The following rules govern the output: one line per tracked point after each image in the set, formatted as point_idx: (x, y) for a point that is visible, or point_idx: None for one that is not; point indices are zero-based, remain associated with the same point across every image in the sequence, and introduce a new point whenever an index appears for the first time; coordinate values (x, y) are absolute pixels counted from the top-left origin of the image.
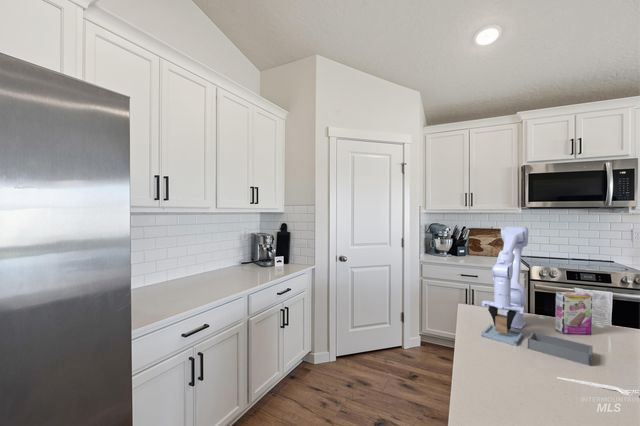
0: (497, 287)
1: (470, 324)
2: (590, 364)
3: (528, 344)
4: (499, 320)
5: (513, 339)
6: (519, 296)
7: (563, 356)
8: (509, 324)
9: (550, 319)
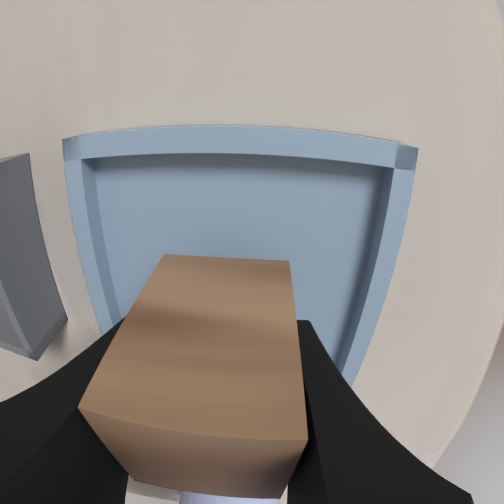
0: None
1: (460, 343)
2: None
3: (2, 161)
4: (224, 375)
5: (123, 234)
6: None
7: None
8: (96, 345)
9: (157, 493)
